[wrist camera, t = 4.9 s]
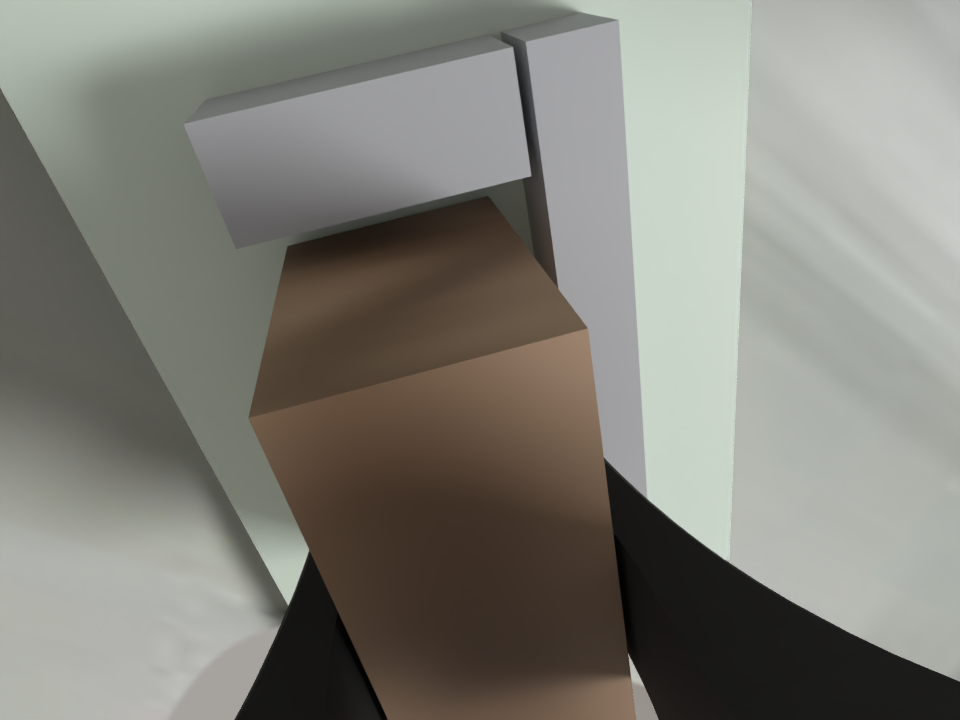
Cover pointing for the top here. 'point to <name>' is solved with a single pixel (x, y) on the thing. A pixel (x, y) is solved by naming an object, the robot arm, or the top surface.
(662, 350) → the board
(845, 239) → the top surface
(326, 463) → the brown rectangular box
